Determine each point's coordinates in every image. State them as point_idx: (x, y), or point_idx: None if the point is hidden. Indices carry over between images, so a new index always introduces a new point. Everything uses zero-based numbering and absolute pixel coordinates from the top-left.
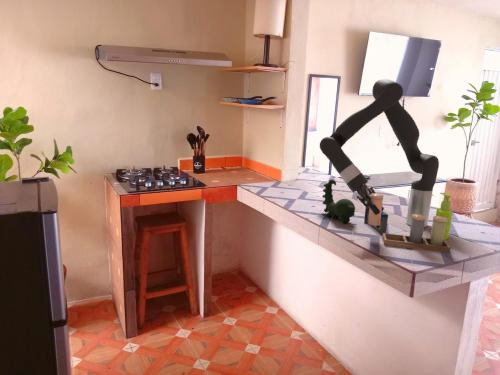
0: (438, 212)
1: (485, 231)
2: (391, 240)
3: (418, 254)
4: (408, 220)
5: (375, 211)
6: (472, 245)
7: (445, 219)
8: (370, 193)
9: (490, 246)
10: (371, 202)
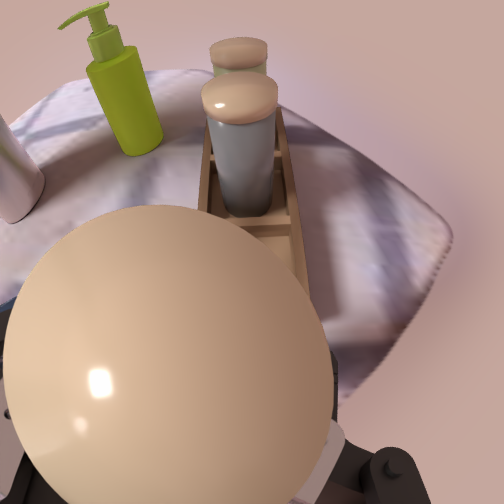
0: (116, 70)
1: (82, 87)
2: (304, 283)
3: (307, 200)
4: (14, 211)
5: None
6: (168, 91)
7: (257, 39)
8: (27, 487)
9: (168, 73)
10: (331, 466)
